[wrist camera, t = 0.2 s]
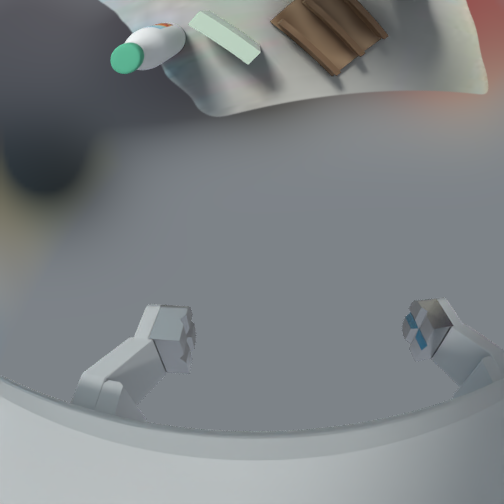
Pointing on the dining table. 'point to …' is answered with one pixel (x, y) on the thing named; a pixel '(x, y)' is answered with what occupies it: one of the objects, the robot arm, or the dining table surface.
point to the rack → (330, 30)
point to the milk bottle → (148, 48)
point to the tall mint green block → (226, 35)
